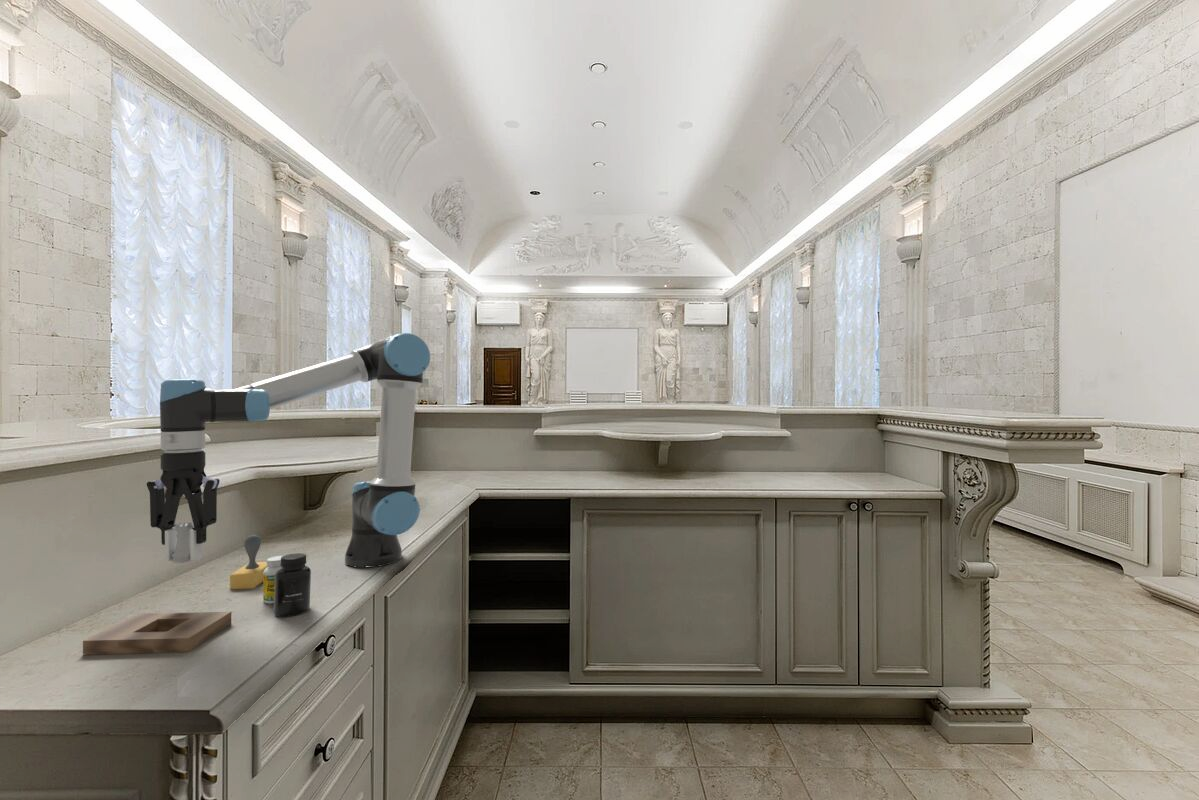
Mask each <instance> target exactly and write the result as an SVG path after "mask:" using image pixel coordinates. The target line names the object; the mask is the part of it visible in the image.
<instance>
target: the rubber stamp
mask: <svg viewBox="0 0 1199 800" xmlns="http://www.w3.org/2000/svg"><path fill="white" fill-rule="evenodd" d="M261 544H262V543H261V537H260V536H259V535H257V534H251V535H248V536H247V537H246V538H245V540H244V549H245V552H246V554H247V556H248V561H249V562H248V563H246V564H245V565H244V566H242V567H240V568H239V569H237V570H236V571H234V572H232V573H231V574H230V575H229V589H230V590H238V589H239V590H241V589H255V588H257V587H258V586H259V585H260V584H262V583H263V572H264V570H265V569H266V568H268V566H267V561H256V557H257V555H258V552H259V550H260V547H261Z"/></svg>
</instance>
